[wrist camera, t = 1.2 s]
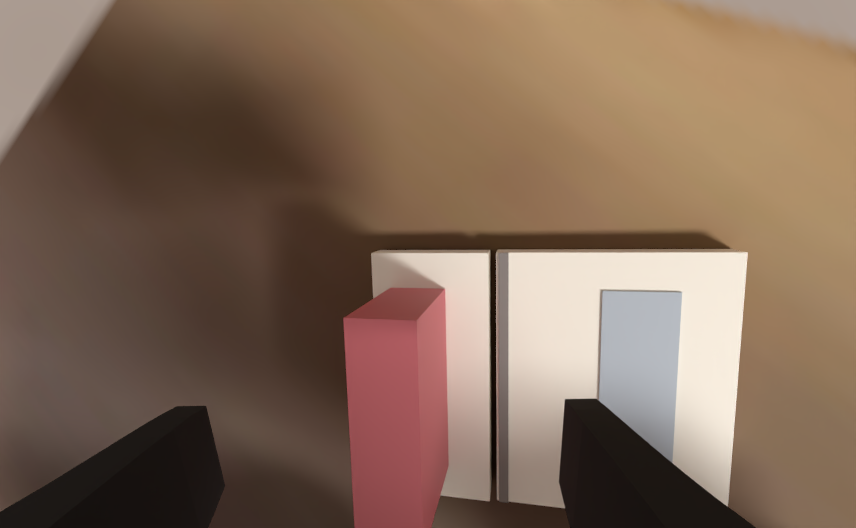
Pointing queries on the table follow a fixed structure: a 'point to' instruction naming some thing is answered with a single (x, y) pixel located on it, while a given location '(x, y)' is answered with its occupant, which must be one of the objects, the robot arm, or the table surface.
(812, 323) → the table surface
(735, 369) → the white flat slab
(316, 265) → the table surface
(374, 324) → the stub
